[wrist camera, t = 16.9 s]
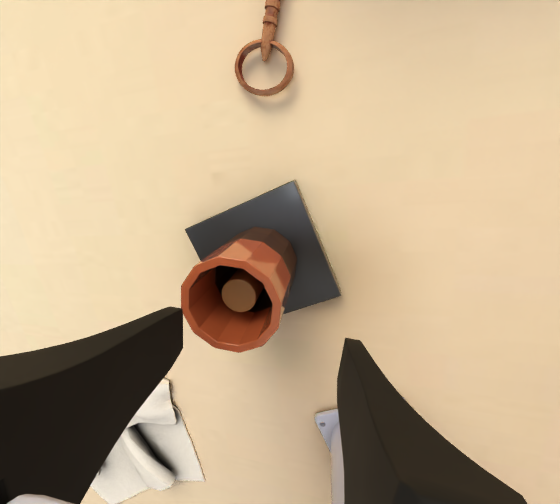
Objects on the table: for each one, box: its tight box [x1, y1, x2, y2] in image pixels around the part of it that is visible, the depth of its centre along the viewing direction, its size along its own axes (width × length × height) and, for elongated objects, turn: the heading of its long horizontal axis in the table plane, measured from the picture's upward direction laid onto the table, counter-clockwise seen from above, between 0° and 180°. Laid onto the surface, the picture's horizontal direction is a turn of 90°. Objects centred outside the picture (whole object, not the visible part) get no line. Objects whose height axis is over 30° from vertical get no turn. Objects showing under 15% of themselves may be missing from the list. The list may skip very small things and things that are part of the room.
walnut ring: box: [215, 227, 297, 312], centre depth 19 cm, size 5×5×4 cm
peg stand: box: [185, 180, 341, 314], centre depth 19 cm, size 9×9×7 cm
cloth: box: [90, 378, 205, 504], centre depth 30 cm, size 20×22×2 cm
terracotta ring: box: [181, 239, 291, 353], centre depth 16 cm, size 5×5×4 cm
